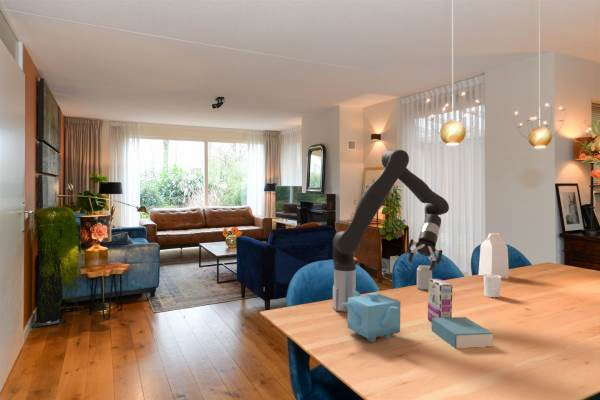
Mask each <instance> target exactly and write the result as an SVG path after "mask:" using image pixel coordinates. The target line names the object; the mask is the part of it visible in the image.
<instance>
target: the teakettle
mask: <svg viewBox="0 0 600 400" xmlns="http://www.w3.org/2000/svg"><path fill="white" fill-rule="evenodd" d="M353 292H354V294H355V297H350V298H348V302H344V303H342V304H344V305H345V306H346V307H347V309H348V312H347V328H348V329H350V330H351V331H353V332H354V334H356V335H359V336H360V335H361V336H362V337H364V338H365V339H366V341H368V342H371V343H373V342H376V340H377V338H378V337H379V338H380V337H383V338H386V339H392V338H393V336H392V335H393V334H397V333H401V305H402V304H401V303H402V302H401V301H400V300H399V299H396V298H392V297H390V296H386V295H384V294H381V293H377V292H370V293H368V294H364V295H361V293H360V292H359V291H357V290H355V291H354V290H353Z"/></svg>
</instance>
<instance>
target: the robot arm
mask: <svg viewBox="0 0 600 400" xmlns="http://www.w3.org/2000/svg"><path fill="white" fill-rule="evenodd" d="M409 162H410V155H409V154H408V153H407V151H406V150H403V149H390V150H387V151H385V152H383V154H382V155H381V164H382V166H383V168H384V170H383V171H382V173H381V174H380V175H379V177H378V178H376V179H375V180H374V181H373V182H372V183H371V184H370V185H369V186H368V187H366V189H365V191H364V192H363V193H362V196H361V197H360V199H359V201H358V202H357V204H356V208H355V212H354V215H353V218H352V220H351V222H350V223H349V225H348V227H347V228H346V230H342V231H339V232H337V233H335V235H334V236H333V239H332V263H333V269H334V270H333V285H332V308H333V309H334V311H335V312H343V313H344V312H345V313H346V312H347V313H348V309H347V307H346V306H345V305H344V304H342V303H344V302H348V298H350V297H356V296H355V294H354V292H353V290H354V291H356V289H357V288H356V280H357V278H356V277H357V275H356V274H357V273H356V271H357V267H356V264H357V263H356V261H355V259H354V253H355V252H356V251H357V249H358V248H359V246H360V244H361V241H362V240H363V237H364V235H365V233H366V231H367V229H368V228H369V226H370V225H371V223H372V221H373V220H374V218H375V217H376V215H377V213H378V212H379V210H380V209H381V207H382V205H383V203H384V202H385V200H386V198H387V196H388V195H389V194H390V192H391V191H392V189H393V186H394V185H395V183H396V182H397V181H398V180H399V181H400V182H402V184H403V185H404V186H406V187H407V188H408V190H409V191H411V193H412V194H413V195H414V196H415V197H416V198H417V199H418V201H419V202H420V203H422V204H426V205H425V206H424V222H423V224H422V227H421V230H420V231H419V232H420V233H419V236H418V240H417V241H414V238H411V239H410V241H409V243H408V245H407V248H406V250H405V253H406V254H409V255H408V259H407V261H408V263H410V264H411V263H412V261H413V258H414V255H417V254H418V253H419V255H422V256H424V257H428V259H429V260H430V262H431V263H430V265H429V266H430V268H429V270H430V271H431V270H432V271H433V270H434V268H435V265H440V263H441V261H442V257H443V256H442V255H443V250H442V249H436V248H437V247H436V246H437V242H438V238H439V235H440V233H439V232H440V228H441V225H442V218H441V217H440V216H441V215H445V214H447V213H448V212H449V210H450V205H449V203H448V201H447V200H446V199H445V198H444V197H442V196H441V195H439V194H438V193H437V192H435V191H433V190H432V189H431V188H430V187H429V185H428V184H427V183H426V182H425V181H424V180H422V179H421V178H420V177H418V176H417V175H416V174H414V173H413V172H412V171H410V170H409V169H408V165H409ZM413 246H415V248H414V249H411V248H412V247H413ZM435 255H436V256H437V257H435Z"/></svg>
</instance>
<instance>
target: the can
mask: <svg viewBox="0 0 600 400" xmlns="http://www.w3.org/2000/svg"><path fill="white" fill-rule="evenodd" d="M429 268H430V265H427V264H426V265H425V264H424V265H423V264H420V265H418V267H417V268H416V288H417V289H418V290H421V291H428V285H429V279H433V270H431V271H430V270H429Z"/></svg>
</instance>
